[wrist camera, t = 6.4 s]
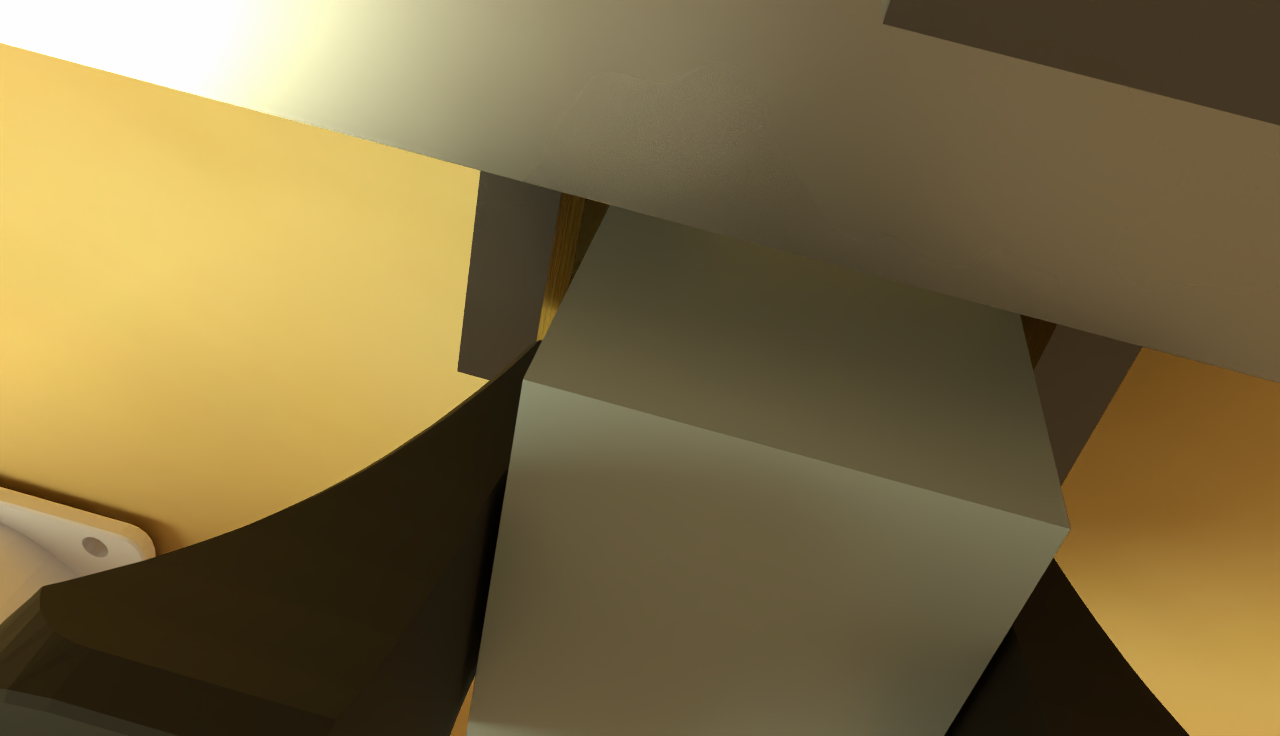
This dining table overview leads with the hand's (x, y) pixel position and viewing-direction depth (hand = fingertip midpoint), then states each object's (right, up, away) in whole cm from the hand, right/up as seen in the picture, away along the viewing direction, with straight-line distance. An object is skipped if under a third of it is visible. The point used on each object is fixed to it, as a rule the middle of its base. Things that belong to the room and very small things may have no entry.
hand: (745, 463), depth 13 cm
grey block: (0, +1, +1) cm, 2 cm away
